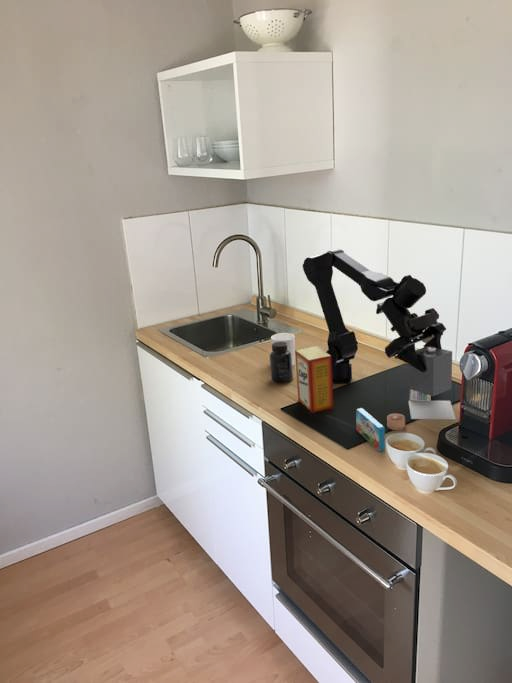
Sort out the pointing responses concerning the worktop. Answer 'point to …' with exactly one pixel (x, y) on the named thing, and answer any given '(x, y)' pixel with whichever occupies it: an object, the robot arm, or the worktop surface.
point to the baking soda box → (314, 378)
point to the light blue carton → (370, 429)
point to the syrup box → (419, 396)
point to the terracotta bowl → (396, 421)
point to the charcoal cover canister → (432, 371)
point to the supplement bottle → (281, 363)
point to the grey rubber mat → (431, 410)
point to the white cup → (288, 339)
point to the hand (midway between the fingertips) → (434, 367)
